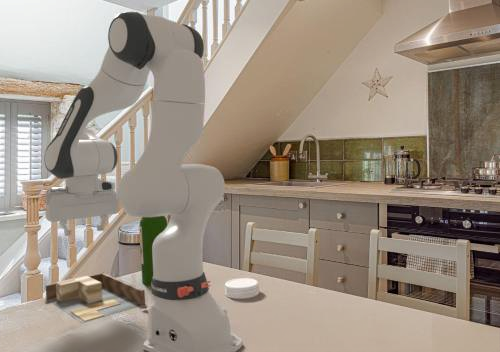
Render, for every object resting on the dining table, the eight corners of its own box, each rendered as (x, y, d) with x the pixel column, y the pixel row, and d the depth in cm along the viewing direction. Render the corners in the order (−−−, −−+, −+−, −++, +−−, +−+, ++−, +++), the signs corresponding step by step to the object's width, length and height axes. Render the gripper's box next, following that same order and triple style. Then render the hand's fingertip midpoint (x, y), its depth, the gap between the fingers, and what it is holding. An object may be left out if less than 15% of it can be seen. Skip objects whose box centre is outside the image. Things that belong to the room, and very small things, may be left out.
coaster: (262, 289, 129) (262, 278, 129) (254, 300, 120) (254, 288, 119) (230, 288, 132) (230, 276, 131) (220, 299, 122) (220, 287, 122)
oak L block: (102, 299, 123) (101, 282, 123) (70, 308, 117) (69, 290, 117) (87, 291, 131) (86, 275, 131) (56, 299, 125) (55, 282, 125)
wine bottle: (141, 280, 142) (136, 183, 140) (168, 277, 145) (164, 181, 143) (143, 288, 134) (137, 185, 132) (172, 285, 136) (167, 183, 135)
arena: (145, 306, 118) (144, 290, 117) (81, 325, 106) (80, 307, 106) (103, 286, 138) (103, 272, 137) (46, 300, 126) (45, 285, 126)
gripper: (47, 189, 114) (50, 240, 115) (120, 183, 128) (122, 229, 129) (40, 188, 119) (43, 237, 120) (110, 182, 133) (113, 226, 133)
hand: (84, 233), depth 124 cm, fingers open, 8 cm apart
